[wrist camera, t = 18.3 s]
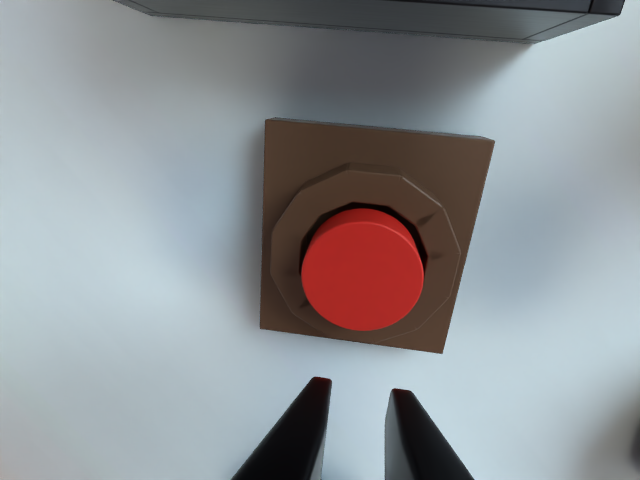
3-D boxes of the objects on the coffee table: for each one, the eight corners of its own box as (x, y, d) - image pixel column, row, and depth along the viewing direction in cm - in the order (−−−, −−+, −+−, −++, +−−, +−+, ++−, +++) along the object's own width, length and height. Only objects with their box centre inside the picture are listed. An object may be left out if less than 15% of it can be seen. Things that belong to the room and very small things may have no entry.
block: (436, 333, 19) (451, 381, 16) (267, 311, 20) (248, 352, 16) (482, 136, 15) (514, 145, 12) (274, 117, 16) (251, 121, 13)
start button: (407, 314, 15) (412, 339, 14) (304, 300, 16) (297, 323, 14) (426, 214, 14) (435, 229, 12) (311, 201, 14) (305, 214, 12)
